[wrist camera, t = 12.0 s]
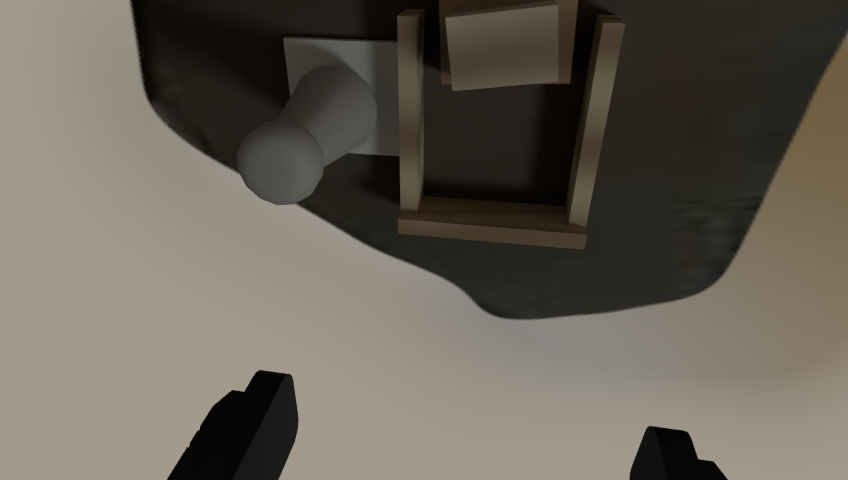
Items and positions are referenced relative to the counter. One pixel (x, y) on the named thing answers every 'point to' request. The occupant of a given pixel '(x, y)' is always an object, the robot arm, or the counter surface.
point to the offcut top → (503, 44)
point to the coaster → (370, 63)
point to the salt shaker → (308, 135)
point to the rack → (494, 216)
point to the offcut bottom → (565, 3)
